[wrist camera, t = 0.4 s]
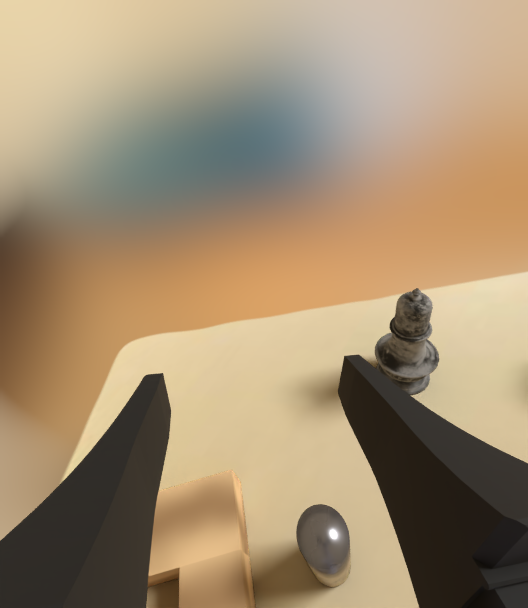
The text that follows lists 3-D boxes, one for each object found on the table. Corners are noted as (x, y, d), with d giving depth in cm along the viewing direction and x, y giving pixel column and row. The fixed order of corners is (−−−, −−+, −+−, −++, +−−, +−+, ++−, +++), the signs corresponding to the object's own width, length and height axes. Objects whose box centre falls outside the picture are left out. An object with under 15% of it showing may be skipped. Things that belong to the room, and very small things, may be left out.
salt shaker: (434, 358, 33) (459, 271, 25) (430, 405, 29) (458, 319, 22) (378, 347, 36) (385, 264, 28) (368, 388, 32) (372, 306, 24)
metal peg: (357, 580, 21) (358, 560, 16) (317, 592, 21) (305, 576, 16) (341, 530, 24) (337, 498, 18) (304, 540, 24) (290, 512, 18)
